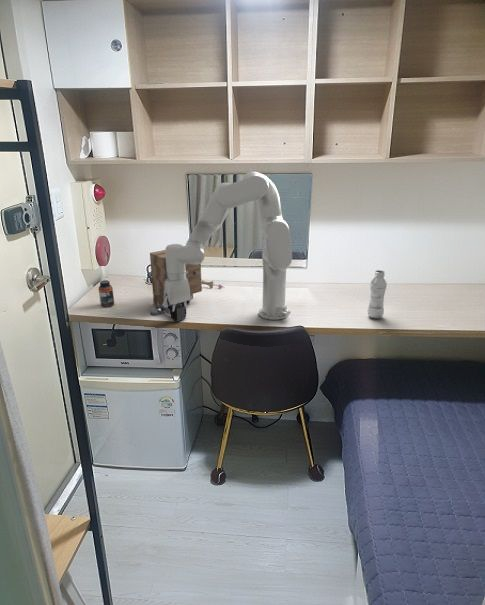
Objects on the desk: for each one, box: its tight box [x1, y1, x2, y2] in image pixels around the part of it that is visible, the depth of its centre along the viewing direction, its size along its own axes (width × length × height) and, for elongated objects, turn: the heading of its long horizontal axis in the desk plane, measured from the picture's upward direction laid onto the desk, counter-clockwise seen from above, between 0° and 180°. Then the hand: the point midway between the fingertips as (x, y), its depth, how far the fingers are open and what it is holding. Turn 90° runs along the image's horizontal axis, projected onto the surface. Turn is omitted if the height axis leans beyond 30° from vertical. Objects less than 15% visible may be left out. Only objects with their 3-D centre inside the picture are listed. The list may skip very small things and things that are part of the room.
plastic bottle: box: [367, 270, 388, 319], centre depth 188 cm, size 6×7×20 cm
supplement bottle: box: [98, 279, 115, 308], centre depth 203 cm, size 6×6×11 cm
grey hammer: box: [157, 302, 186, 322], centre depth 193 cm, size 18×4×6 cm, turn 40°
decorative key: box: [201, 279, 224, 289], centre depth 227 cm, size 7×1×20 cm
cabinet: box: [149, 245, 203, 306], centre depth 202 cm, size 13×18×24 cm
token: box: [149, 305, 163, 316], centre depth 196 cm, size 5×5×2 cm
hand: (178, 317), depth 189 cm, fingers closed on grey hammer, 4 cm apart
